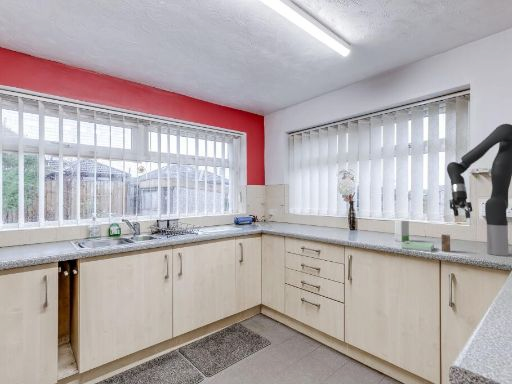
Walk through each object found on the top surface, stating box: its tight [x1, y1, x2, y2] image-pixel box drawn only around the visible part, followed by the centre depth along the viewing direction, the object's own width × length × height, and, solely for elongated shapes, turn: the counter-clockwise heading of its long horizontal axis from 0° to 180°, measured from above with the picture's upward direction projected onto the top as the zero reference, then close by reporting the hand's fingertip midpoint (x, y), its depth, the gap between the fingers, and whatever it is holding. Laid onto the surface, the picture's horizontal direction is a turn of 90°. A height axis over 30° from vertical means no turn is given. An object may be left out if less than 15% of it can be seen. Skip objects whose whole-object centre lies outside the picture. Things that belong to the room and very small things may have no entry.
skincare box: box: [394, 219, 410, 243], centre depth 207 cm, size 8×7×16 cm
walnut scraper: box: [441, 234, 451, 253], centre depth 168 cm, size 4×4×10 cm
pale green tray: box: [401, 240, 435, 253], centre depth 177 cm, size 16×14×3 cm
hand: (462, 217), depth 168 cm, fingers open, 8 cm apart
